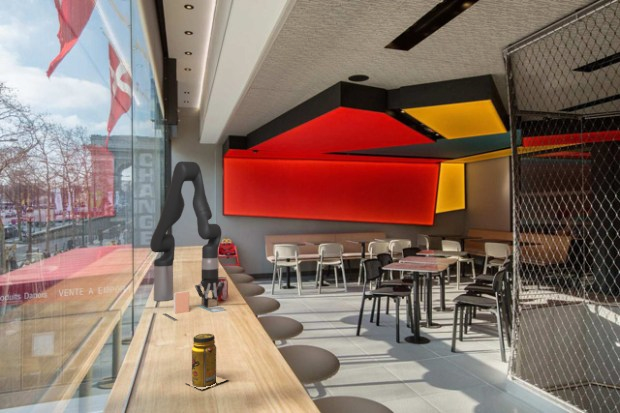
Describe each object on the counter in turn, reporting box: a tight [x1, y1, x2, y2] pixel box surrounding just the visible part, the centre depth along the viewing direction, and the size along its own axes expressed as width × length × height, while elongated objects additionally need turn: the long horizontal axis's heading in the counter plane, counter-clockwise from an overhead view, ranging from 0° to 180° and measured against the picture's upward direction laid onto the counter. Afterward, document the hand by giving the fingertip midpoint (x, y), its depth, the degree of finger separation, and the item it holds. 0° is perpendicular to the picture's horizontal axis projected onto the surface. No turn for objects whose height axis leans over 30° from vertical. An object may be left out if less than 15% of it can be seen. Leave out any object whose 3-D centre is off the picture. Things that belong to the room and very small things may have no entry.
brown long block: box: [201, 296, 225, 312], centre depth 190 cm, size 15×5×4 cm, turn 38°
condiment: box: [191, 333, 220, 387], centre depth 107 cm, size 7×8×12 cm
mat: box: [162, 313, 179, 322], centre depth 178 cm, size 15×14×1 cm
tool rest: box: [196, 304, 227, 313], centre depth 190 cm, size 18×7×1 cm, turn 38°
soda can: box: [216, 276, 229, 302], centre depth 207 cm, size 7×7×12 cm
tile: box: [173, 290, 190, 315], centre depth 181 cm, size 2×6×9 cm, turn 128°
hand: (209, 305), depth 191 cm, fingers closed on brown long block, 3 cm apart
